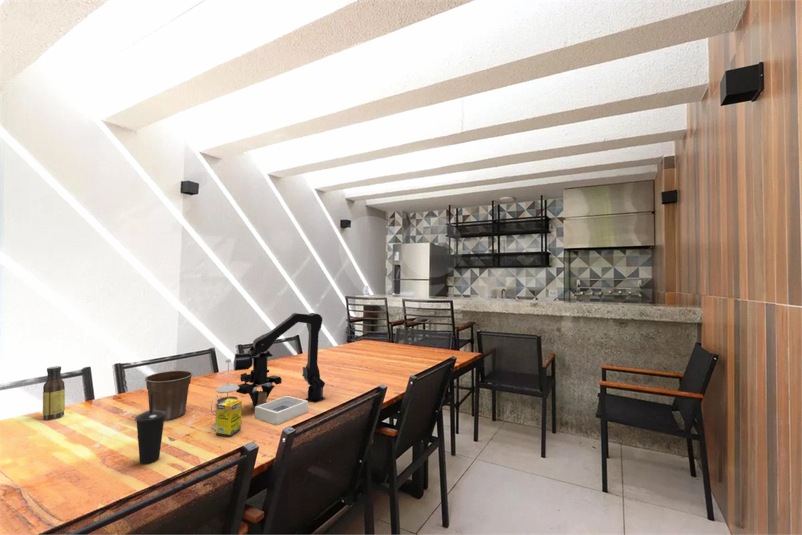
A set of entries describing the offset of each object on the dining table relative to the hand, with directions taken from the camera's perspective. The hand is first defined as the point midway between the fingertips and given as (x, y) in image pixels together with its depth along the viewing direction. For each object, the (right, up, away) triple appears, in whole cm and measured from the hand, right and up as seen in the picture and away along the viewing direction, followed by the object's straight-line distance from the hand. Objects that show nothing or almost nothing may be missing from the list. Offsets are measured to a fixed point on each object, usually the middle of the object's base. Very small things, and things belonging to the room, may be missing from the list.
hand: (259, 404), depth 150 cm
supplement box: (-2, -1, -23) cm, 23 cm away
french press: (-6, -2, -17) cm, 18 cm away
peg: (0, -2, 0) cm, 2 cm away
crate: (+12, -2, -6) cm, 13 cm away
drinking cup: (-16, -1, -43) cm, 46 cm away
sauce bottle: (-78, -1, -11) cm, 78 cm away
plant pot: (-34, -2, -8) cm, 35 cm away
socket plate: (+12, -2, -6) cm, 13 cm away
